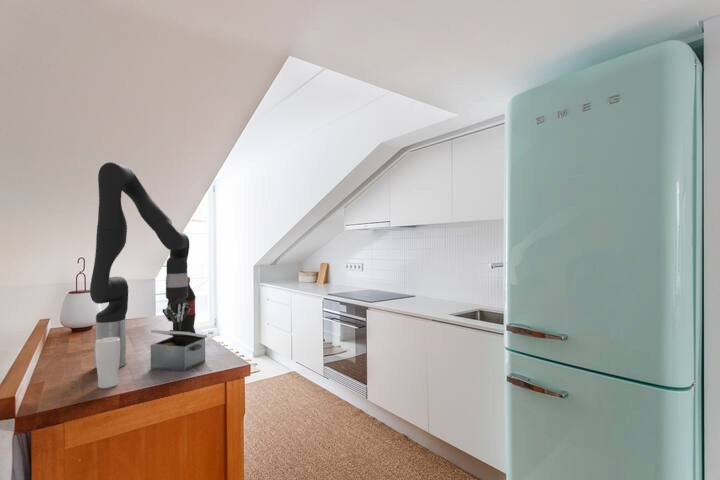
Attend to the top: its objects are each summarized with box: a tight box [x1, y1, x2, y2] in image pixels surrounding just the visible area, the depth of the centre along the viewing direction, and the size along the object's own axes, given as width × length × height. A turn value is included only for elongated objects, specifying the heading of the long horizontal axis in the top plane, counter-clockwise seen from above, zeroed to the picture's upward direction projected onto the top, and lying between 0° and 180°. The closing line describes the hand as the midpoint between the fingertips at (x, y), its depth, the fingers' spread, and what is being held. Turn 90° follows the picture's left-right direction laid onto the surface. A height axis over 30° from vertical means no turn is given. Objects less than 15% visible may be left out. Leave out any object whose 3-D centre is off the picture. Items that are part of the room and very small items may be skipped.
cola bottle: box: [181, 276, 197, 334], centre depth 172 cm, size 8×8×30 cm
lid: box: [150, 329, 208, 339], centre depth 142 cm, size 15×13×2 cm
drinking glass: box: [94, 337, 120, 390], centre depth 121 cm, size 7×7×15 cm
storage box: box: [150, 336, 206, 373], centre depth 141 cm, size 16×12×9 cm
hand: (177, 331), depth 140 cm, fingers closed
